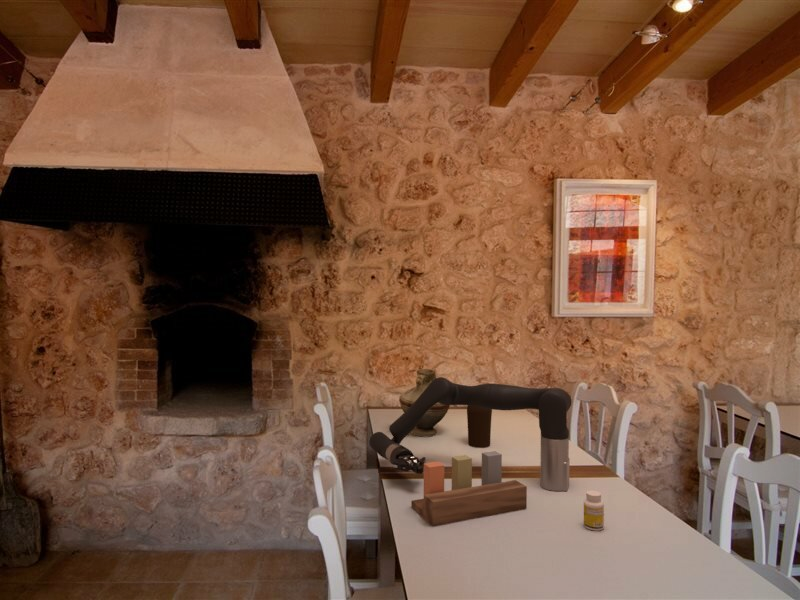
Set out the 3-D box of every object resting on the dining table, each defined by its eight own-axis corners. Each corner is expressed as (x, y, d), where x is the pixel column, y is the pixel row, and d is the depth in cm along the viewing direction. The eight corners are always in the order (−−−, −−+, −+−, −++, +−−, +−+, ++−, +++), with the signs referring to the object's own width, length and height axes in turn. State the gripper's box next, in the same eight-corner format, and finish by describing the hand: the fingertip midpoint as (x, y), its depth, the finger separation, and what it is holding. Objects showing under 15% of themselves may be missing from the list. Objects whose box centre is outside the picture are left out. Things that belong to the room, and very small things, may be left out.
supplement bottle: (587, 521, 161) (588, 488, 161) (606, 526, 157) (606, 492, 157) (580, 527, 157) (580, 493, 156) (599, 533, 153) (600, 498, 153)
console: (411, 507, 171) (411, 484, 171) (499, 492, 184) (499, 471, 183) (433, 526, 157) (433, 502, 157) (526, 508, 170) (526, 486, 170)
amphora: (404, 443, 243) (410, 377, 240) (391, 425, 266) (396, 364, 262) (454, 442, 249) (460, 377, 246) (437, 424, 272) (442, 364, 269)
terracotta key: (423, 502, 169) (423, 463, 168) (438, 500, 171) (438, 461, 170) (429, 507, 165) (429, 467, 165) (444, 504, 167) (444, 465, 167)
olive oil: (479, 449, 231) (480, 390, 230) (461, 444, 239) (461, 386, 239) (496, 445, 238) (497, 387, 237) (478, 439, 246) (478, 384, 245)
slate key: (481, 489, 180) (481, 452, 179) (494, 487, 182) (494, 451, 181) (488, 493, 176) (488, 456, 176) (501, 491, 178) (501, 454, 178)
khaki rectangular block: (451, 494, 175) (451, 456, 175) (465, 492, 177) (465, 455, 177) (457, 498, 172) (457, 460, 171) (471, 496, 174) (471, 458, 173)
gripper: (382, 448, 194) (402, 462, 179) (416, 443, 200) (438, 457, 184) (382, 469, 195) (402, 485, 179) (416, 464, 200) (438, 479, 184)
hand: (420, 470), depth 181 cm, fingers closed
